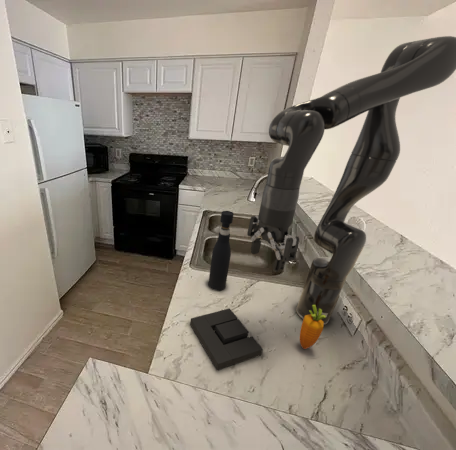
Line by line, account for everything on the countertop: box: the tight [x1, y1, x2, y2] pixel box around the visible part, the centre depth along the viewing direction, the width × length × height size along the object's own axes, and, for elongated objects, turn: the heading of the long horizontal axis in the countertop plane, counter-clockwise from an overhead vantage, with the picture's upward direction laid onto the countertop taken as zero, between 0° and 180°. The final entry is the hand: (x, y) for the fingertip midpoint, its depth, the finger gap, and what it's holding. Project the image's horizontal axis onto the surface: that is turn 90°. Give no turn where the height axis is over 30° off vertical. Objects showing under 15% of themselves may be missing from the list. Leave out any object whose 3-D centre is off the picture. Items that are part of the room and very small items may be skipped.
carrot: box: [299, 305, 326, 350], centre depth 69 cm, size 5×5×15 cm
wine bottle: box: [208, 210, 234, 292], centre depth 90 cm, size 6×6×30 cm
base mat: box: [189, 307, 264, 371], centre depth 74 cm, size 14×16×2 cm
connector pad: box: [214, 319, 250, 345], centre depth 75 cm, size 8×5×4 cm, turn 109°
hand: (265, 261), depth 66 cm, fingers open, 8 cm apart
